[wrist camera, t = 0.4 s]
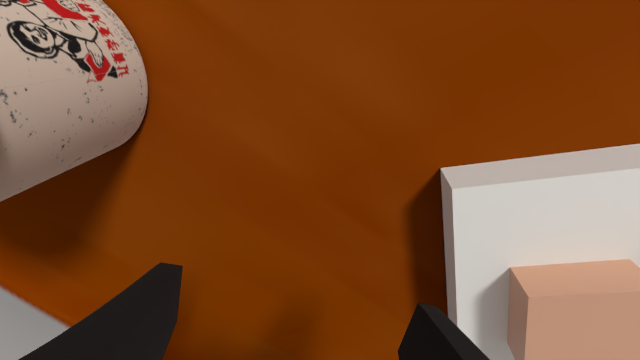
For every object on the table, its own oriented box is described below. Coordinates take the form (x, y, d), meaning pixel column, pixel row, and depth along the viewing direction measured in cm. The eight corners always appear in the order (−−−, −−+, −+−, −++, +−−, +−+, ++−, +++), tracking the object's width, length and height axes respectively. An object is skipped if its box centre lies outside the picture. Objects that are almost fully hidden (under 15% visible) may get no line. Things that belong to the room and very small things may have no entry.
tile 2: (613, 339, 17) (643, 376, 15) (507, 342, 18) (523, 377, 16) (629, 259, 15) (665, 289, 13) (510, 267, 16) (528, 297, 14)
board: (728, 355, 19) (776, 397, 17) (450, 361, 22) (460, 398, 20) (819, 121, 14) (906, 138, 12) (440, 168, 17) (451, 189, 15)
